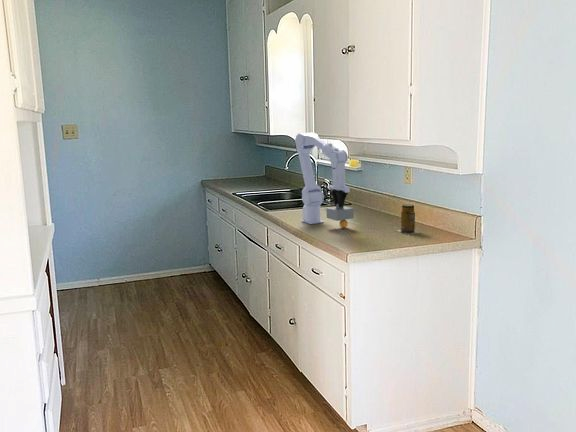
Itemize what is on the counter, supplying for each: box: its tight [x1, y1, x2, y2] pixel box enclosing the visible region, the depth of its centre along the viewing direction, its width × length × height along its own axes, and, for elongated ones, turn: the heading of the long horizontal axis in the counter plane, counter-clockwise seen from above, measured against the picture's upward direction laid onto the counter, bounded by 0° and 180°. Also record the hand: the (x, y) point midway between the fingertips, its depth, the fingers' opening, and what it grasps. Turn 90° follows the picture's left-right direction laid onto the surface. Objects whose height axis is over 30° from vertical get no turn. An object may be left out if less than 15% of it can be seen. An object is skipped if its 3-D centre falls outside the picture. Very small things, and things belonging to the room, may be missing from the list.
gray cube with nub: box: [325, 204, 355, 222], centre depth 264 cm, size 9×9×7 cm
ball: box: [338, 219, 349, 229], centre depth 266 cm, size 4×4×4 cm
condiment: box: [397, 203, 421, 235], centre depth 252 cm, size 7×8×12 cm
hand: (339, 206), depth 263 cm, fingers closed on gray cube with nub, 2 cm apart
